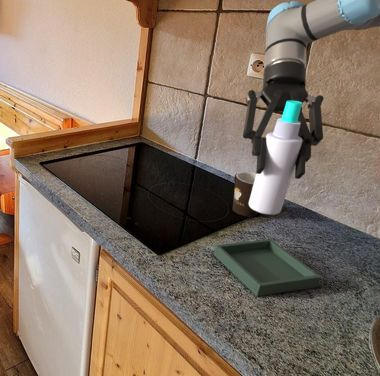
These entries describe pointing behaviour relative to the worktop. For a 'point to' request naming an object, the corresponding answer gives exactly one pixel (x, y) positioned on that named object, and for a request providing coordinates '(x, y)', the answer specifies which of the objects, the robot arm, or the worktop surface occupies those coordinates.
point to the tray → (266, 267)
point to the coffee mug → (243, 193)
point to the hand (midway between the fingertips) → (280, 173)
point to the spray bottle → (278, 162)
